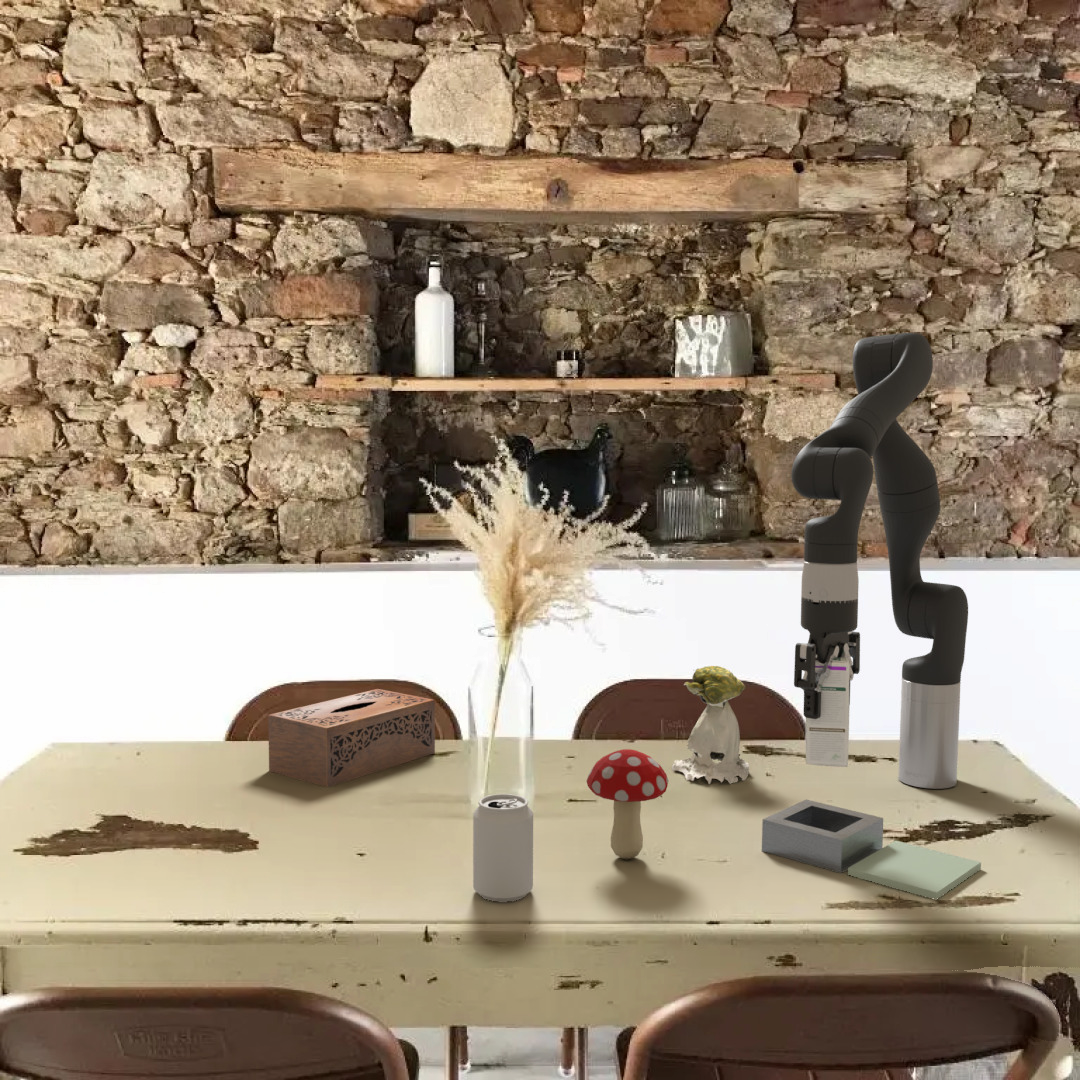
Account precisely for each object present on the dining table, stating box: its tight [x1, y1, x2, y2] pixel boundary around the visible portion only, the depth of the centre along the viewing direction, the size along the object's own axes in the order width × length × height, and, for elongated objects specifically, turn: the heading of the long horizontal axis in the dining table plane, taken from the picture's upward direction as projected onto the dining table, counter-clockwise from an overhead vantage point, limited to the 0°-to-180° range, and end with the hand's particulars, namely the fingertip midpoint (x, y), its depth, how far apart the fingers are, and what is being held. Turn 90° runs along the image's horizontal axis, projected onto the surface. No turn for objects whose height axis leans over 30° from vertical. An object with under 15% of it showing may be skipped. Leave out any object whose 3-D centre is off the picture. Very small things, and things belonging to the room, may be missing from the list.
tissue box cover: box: [267, 688, 436, 788], centre depth 203 cm, size 26×14×10 cm, turn 143°
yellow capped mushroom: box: [671, 665, 750, 785], centre depth 197 cm, size 12×13×18 cm
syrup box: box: [805, 657, 850, 768], centre depth 160 cm, size 6×6×14 cm
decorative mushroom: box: [586, 748, 669, 860], centre depth 158 cm, size 11×11×15 cm
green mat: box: [847, 840, 982, 900], centre depth 154 cm, size 14×12×1 cm
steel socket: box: [761, 799, 884, 874], centre depth 162 cm, size 12×12×4 cm
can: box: [472, 793, 534, 903], centre depth 146 cm, size 8×8×12 cm
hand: (826, 712), depth 160 cm, fingers closed on syrup box, 8 cm apart
